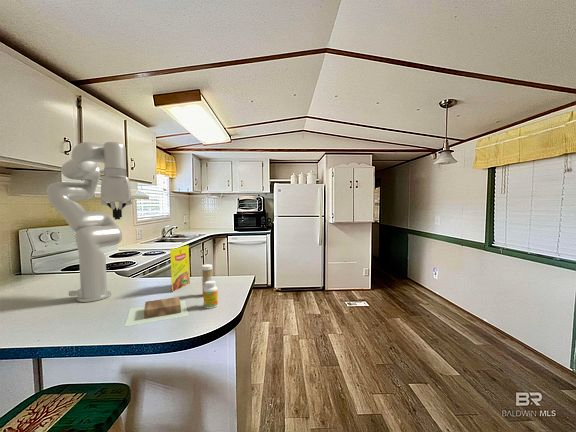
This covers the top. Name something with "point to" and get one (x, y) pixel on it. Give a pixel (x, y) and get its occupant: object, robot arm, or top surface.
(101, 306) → the top surface
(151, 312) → the walnut plank
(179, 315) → the mat
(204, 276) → the sprinkles bottle
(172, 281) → the food package
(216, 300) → the supplement bottle
